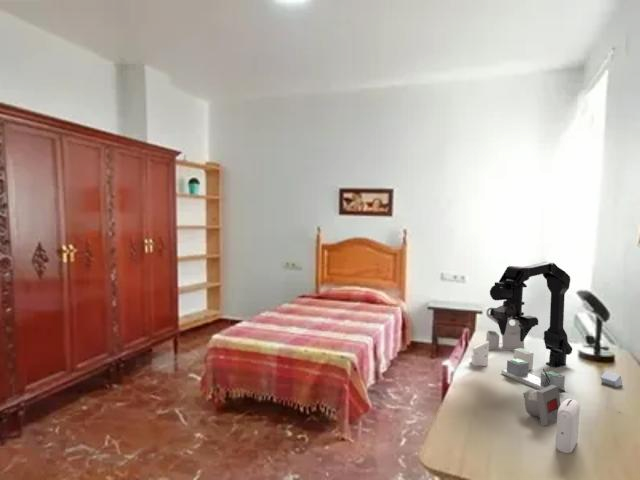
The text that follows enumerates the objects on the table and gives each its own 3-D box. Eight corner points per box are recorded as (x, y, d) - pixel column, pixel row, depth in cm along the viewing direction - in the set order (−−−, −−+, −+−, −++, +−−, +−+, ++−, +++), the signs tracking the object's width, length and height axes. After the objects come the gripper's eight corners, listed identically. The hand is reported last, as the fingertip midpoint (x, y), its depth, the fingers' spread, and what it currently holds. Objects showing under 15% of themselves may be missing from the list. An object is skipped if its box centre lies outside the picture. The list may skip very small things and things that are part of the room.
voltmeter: (567, 430, 131) (570, 397, 130) (525, 424, 134) (527, 392, 134) (551, 396, 156) (552, 368, 155) (515, 391, 160) (517, 364, 159)
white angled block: (498, 360, 185) (489, 342, 185) (476, 371, 186) (466, 352, 186) (496, 357, 189) (486, 339, 188) (474, 368, 190) (464, 350, 190)
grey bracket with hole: (488, 349, 209) (490, 311, 208) (484, 342, 219) (486, 306, 218) (528, 352, 206) (530, 313, 205) (521, 345, 216) (524, 309, 215)
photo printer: (571, 455, 117) (574, 409, 116) (553, 449, 120) (556, 404, 119) (579, 441, 125) (582, 397, 124) (562, 435, 128) (564, 393, 127)
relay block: (616, 390, 163) (622, 383, 165) (614, 381, 162) (620, 375, 163) (602, 385, 167) (608, 379, 169) (600, 376, 166) (606, 370, 168)
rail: (514, 371, 180) (514, 355, 179) (564, 391, 160) (565, 374, 160) (501, 373, 177) (502, 358, 176) (551, 394, 157) (552, 377, 156)
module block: (520, 364, 188) (521, 347, 188) (532, 369, 183) (533, 352, 182) (513, 365, 187) (514, 348, 186) (525, 370, 181) (526, 353, 181)
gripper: (480, 295, 179) (478, 333, 180) (518, 305, 162) (516, 347, 163) (501, 294, 184) (499, 331, 185) (540, 303, 167) (538, 344, 168)
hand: (512, 338), depth 175 cm, fingers open, 9 cm apart
